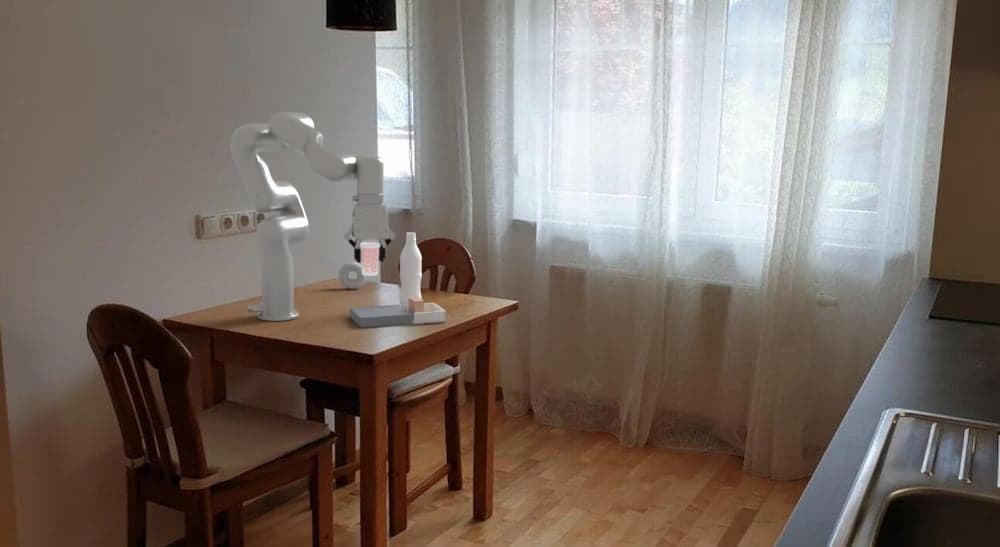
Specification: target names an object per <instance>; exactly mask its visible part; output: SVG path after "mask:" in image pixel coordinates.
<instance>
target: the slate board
mask: <svg viewBox="0 0 1000 547" xmlns="http://www.w3.org/2000/svg"><path fill="white" fill-rule="evenodd" d="M349 318H350V319H351V318H352V319H351V320H352V321H353V322H355V324H357V325H358V326H359V328H362V327H363V328H371V327H373V328H374V327H385V326H386V325H389V326H400V325H399V324H402V325H412V324H413V323H412V314H411V313H410V312H409V311H407V310H406V309H405V308H403V307H402V306H401V304H390V305H389V304H388V305H374V306H373V305H372V306H360V307H359V306H358V307H355V306H354V307H349ZM386 327H387V326H386Z"/></svg>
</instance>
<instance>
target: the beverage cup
mask: <svg viewBox="0 0 1000 547" xmlns="http://www.w3.org/2000/svg"><path fill="white" fill-rule="evenodd" d="M359 247H360V249H361V262H360V264H361V268H362V275H365V276H367V277H372V276H378V274H379V273H378V271H379V262H380V261H379V247H380V243H379V242H372V240H368V241H365V242H361V244H360V246H359Z"/></svg>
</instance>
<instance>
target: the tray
mask: <svg viewBox="0 0 1000 547" xmlns="http://www.w3.org/2000/svg"><path fill="white" fill-rule="evenodd" d="M403 308H405V309H406V310H407V311H409V305H403ZM424 323H428V324H438V323H447V311H446V310H445V309H444V308H442V307H441V306H439V305H438V304H436V303H435V302H428V303H425V302H424V312H420V313H414V320H413V319H412V324H413V325H425V324H424Z"/></svg>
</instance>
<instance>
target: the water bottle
mask: <svg viewBox="0 0 1000 547" xmlns="http://www.w3.org/2000/svg"><path fill="white" fill-rule="evenodd" d="M405 236H406V237H405V244H404V247H403V249H402V251H401V252H400V256H399V260H400V263H399V267H400V268H399V278H400V284H401V285H400V287H401V289H400V295H399V303H400V304H399V305H400V306H402V307H403V305H409V297H419V298H420V299H422V294H421V292H422V291H421V281H422V276H423V273H422V260H423V257H422V254H421V251H420V249H419V247H418V246H417V242H416V241H417V237H416V232H413V231H412V232H411V231H409V232H406V235H405ZM422 300H423V299H422Z"/></svg>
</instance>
